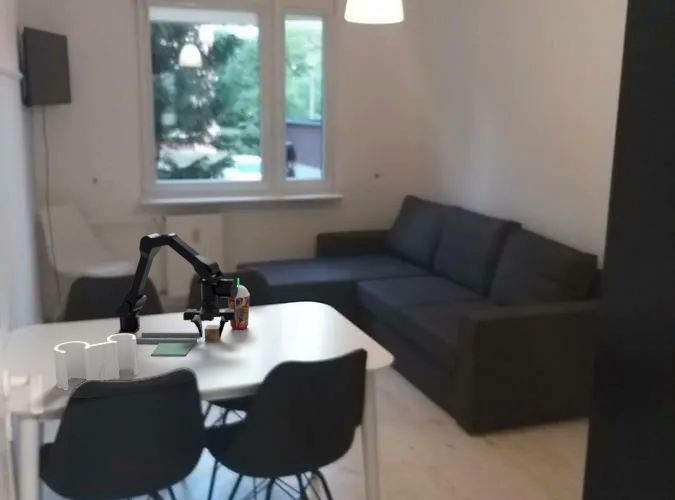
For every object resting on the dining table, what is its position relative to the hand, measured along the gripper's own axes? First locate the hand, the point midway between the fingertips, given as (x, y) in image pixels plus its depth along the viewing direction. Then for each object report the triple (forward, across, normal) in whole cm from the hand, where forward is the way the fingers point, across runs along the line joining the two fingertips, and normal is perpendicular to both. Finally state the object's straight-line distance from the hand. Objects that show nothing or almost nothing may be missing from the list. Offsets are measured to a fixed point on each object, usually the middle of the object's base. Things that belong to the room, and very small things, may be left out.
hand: (210, 337), depth 274 cm
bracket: (+1, -29, -39) cm, 49 cm away
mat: (+1, -12, -12) cm, 17 cm away
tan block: (+1, +1, 0) cm, 1 cm away
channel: (+1, -16, 0) cm, 16 cm away
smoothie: (+1, +8, +14) cm, 16 cm away
